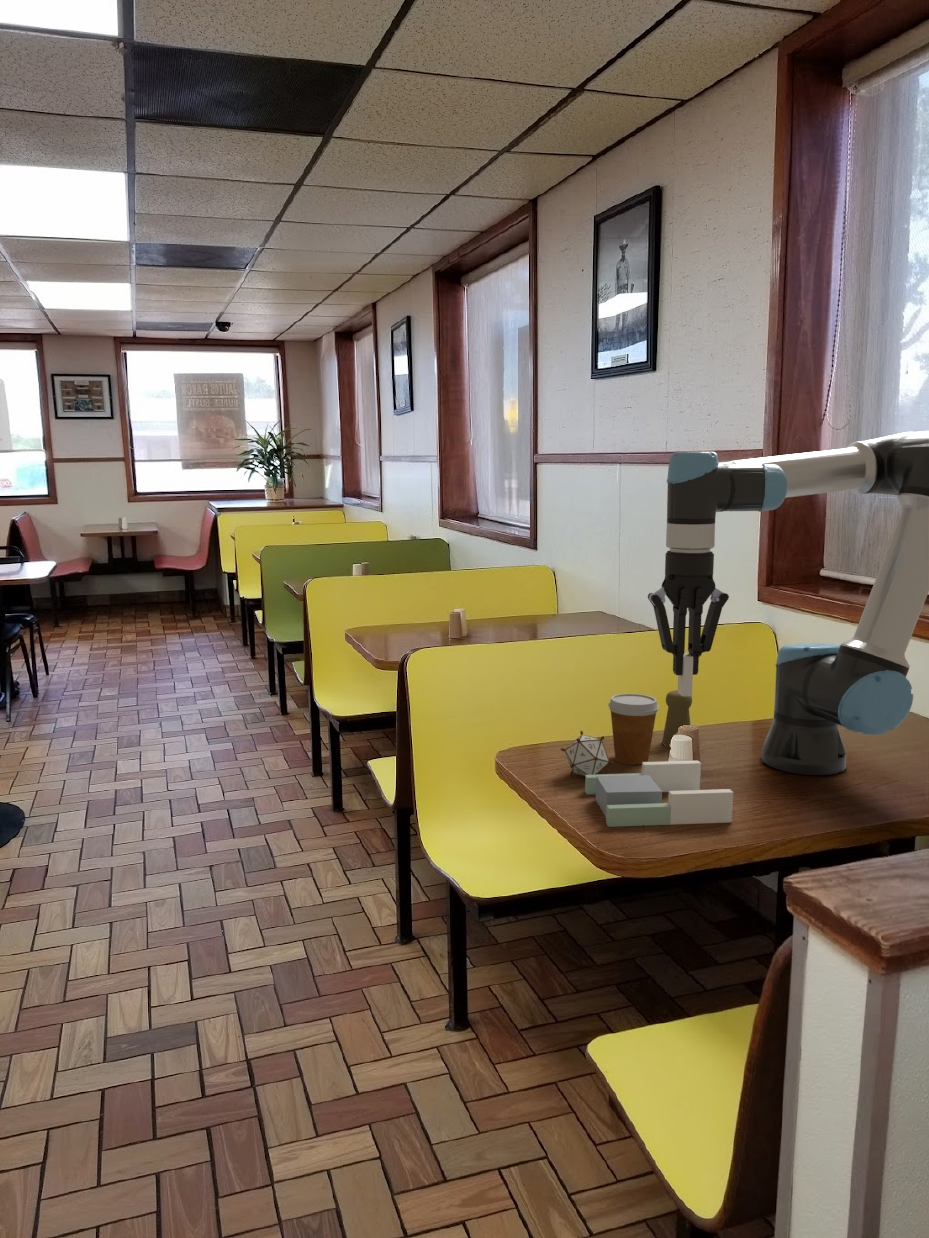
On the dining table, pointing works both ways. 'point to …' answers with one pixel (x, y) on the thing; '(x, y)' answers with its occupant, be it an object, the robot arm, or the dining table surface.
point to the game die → (587, 755)
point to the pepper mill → (676, 714)
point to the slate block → (626, 790)
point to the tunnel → (671, 798)
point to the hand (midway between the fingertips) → (684, 694)
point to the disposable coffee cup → (632, 726)
